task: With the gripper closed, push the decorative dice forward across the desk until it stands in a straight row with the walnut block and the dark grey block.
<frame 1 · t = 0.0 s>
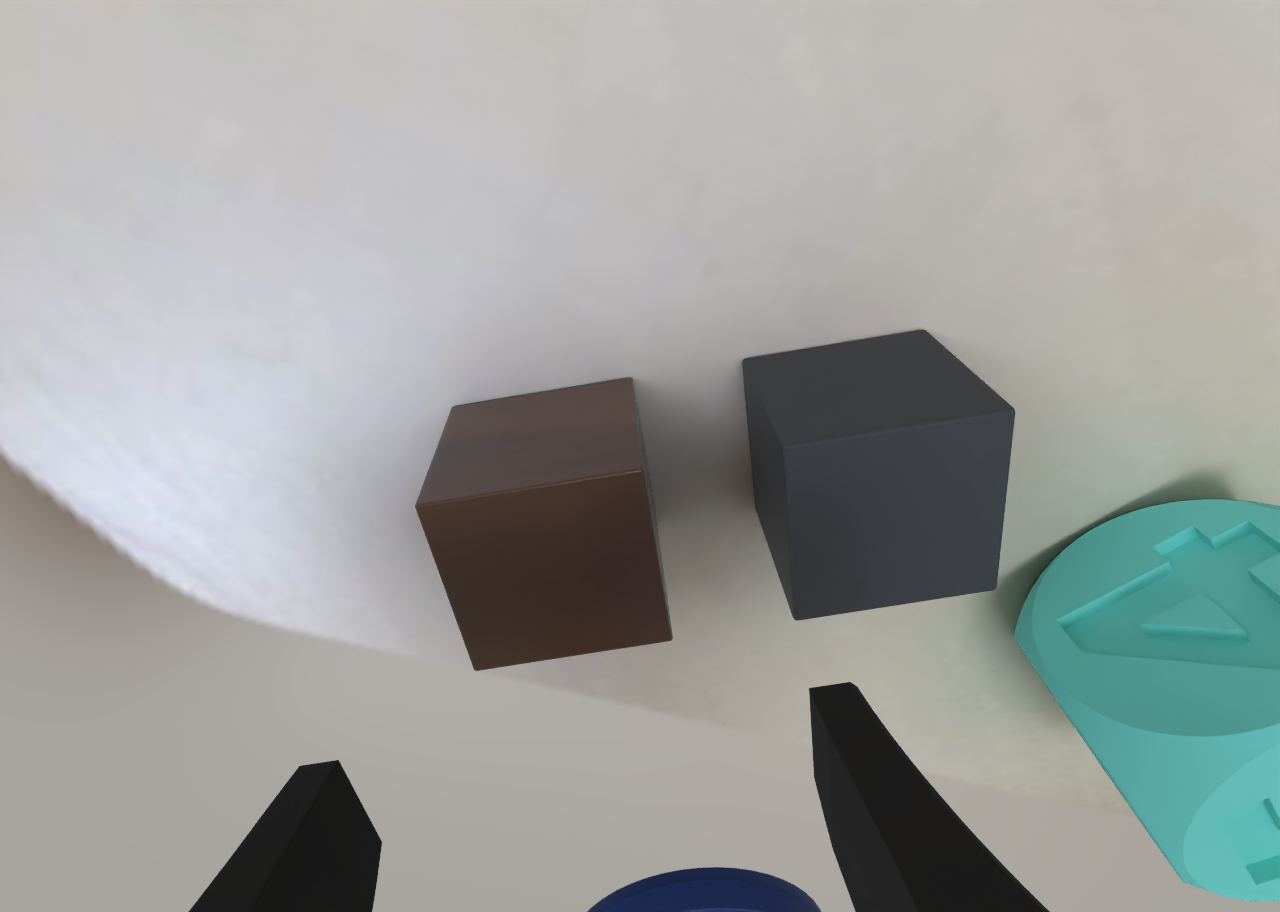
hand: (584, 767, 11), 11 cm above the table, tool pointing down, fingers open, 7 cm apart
walnut block: (560, 469, 22), on the table
grey block: (835, 424, 21), on the table
decorative dice: (1131, 594, 26), on the table
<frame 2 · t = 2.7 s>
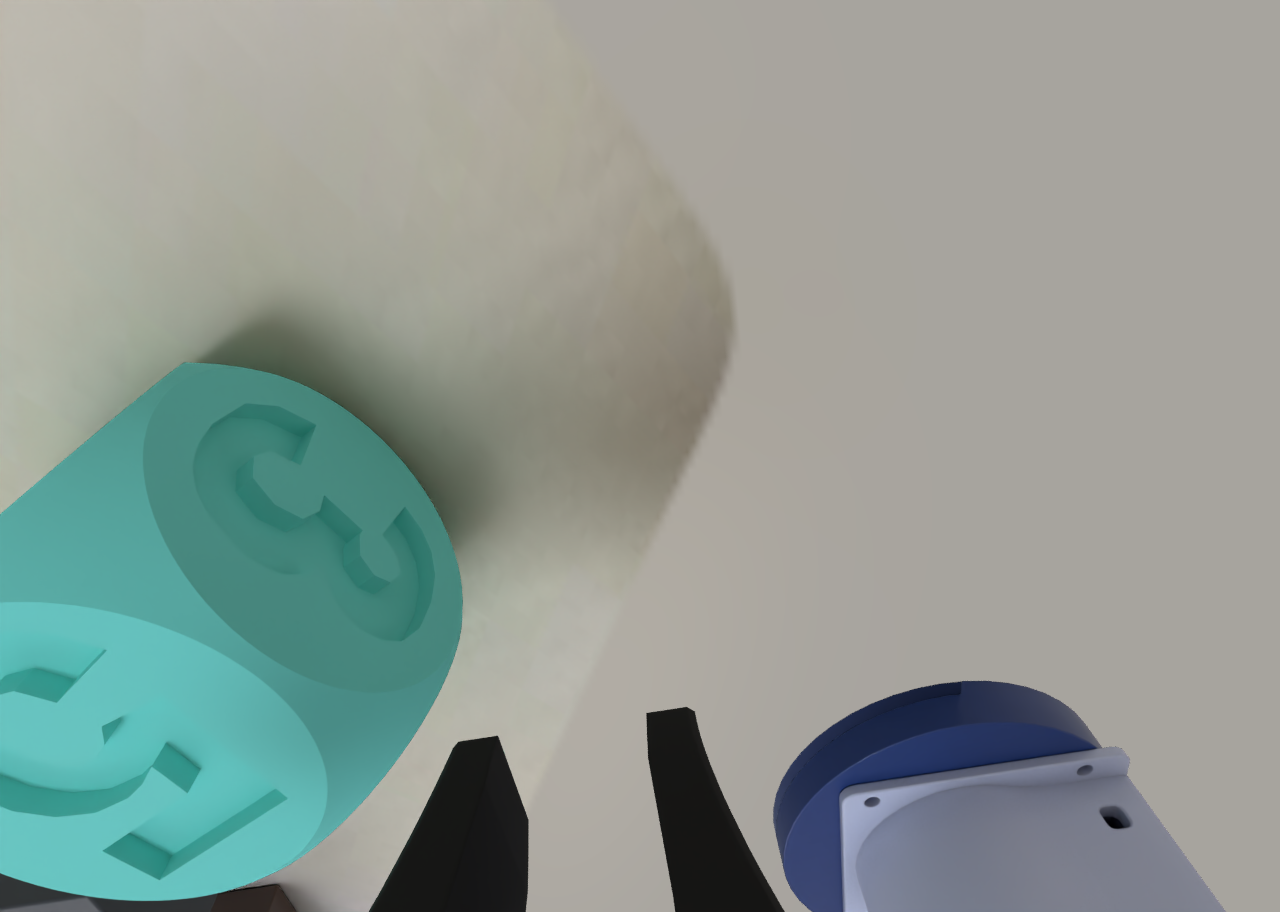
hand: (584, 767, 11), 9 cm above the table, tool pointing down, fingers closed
grey block: (141, 799, 25), on the table
decorative dice: (274, 510, 20), on the table
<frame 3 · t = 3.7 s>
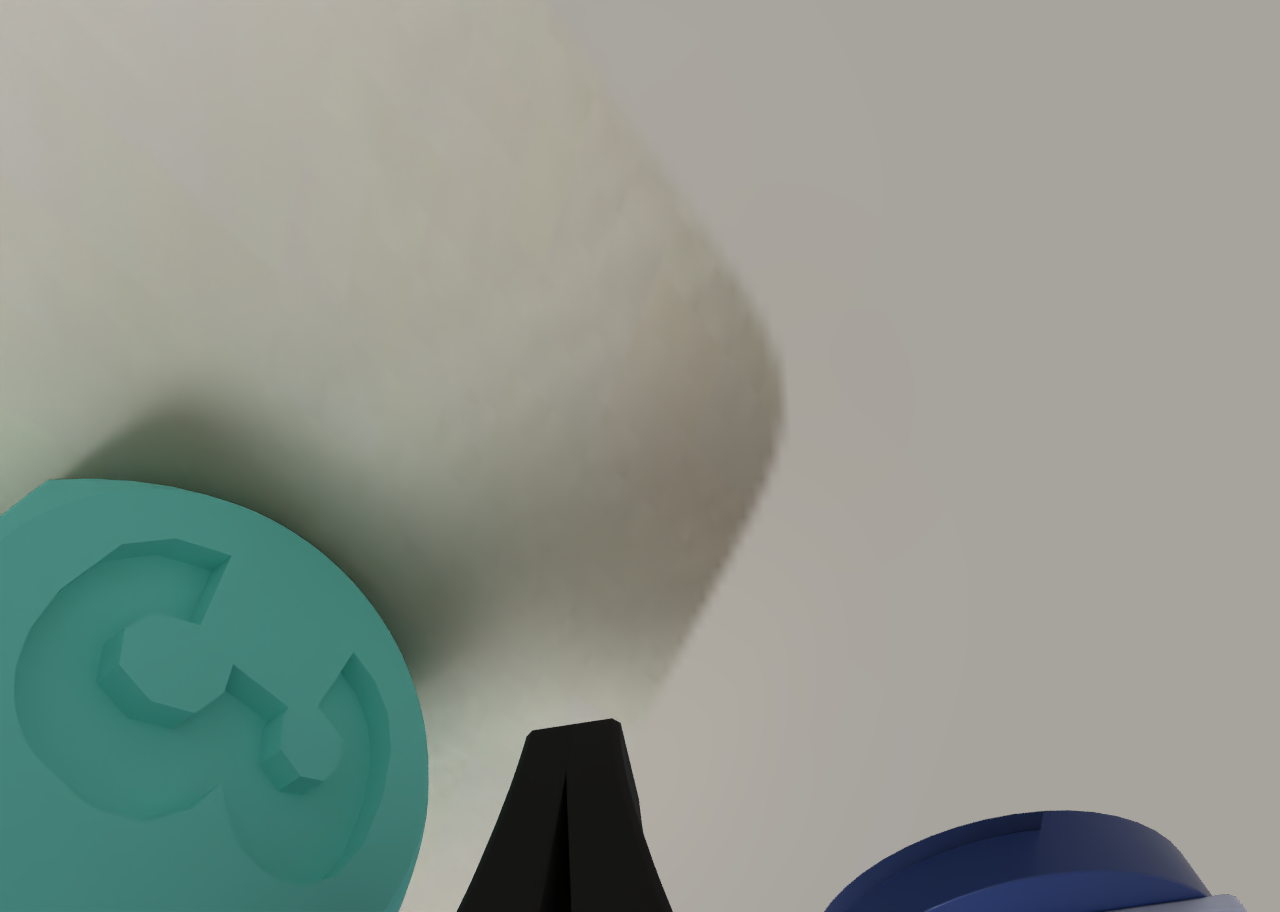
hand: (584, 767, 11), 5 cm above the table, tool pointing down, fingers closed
decorative dice: (196, 636, 16), on the table
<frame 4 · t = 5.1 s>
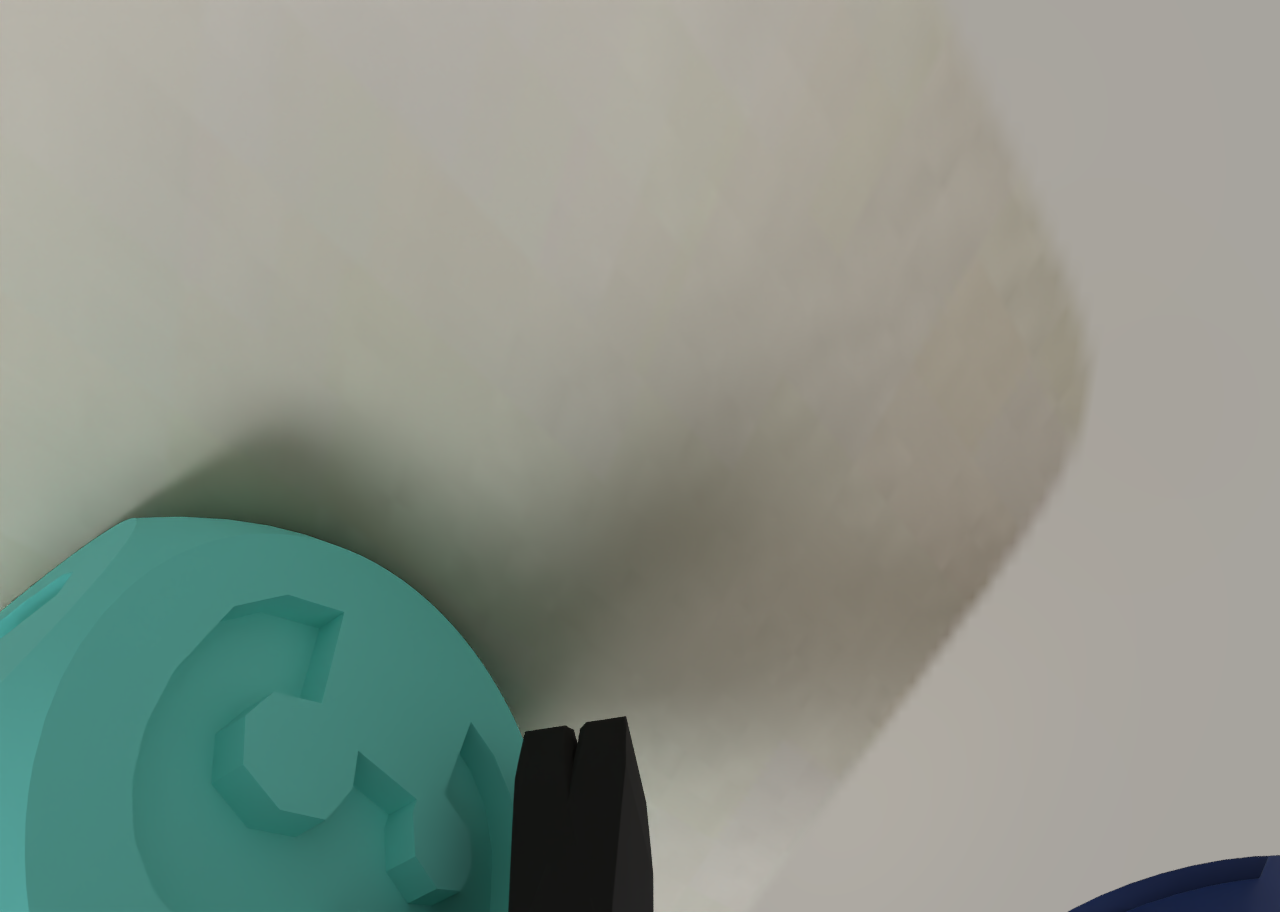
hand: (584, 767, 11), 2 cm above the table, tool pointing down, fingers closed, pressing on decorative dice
decorative dice: (269, 687, 14), on the table, touching gripper
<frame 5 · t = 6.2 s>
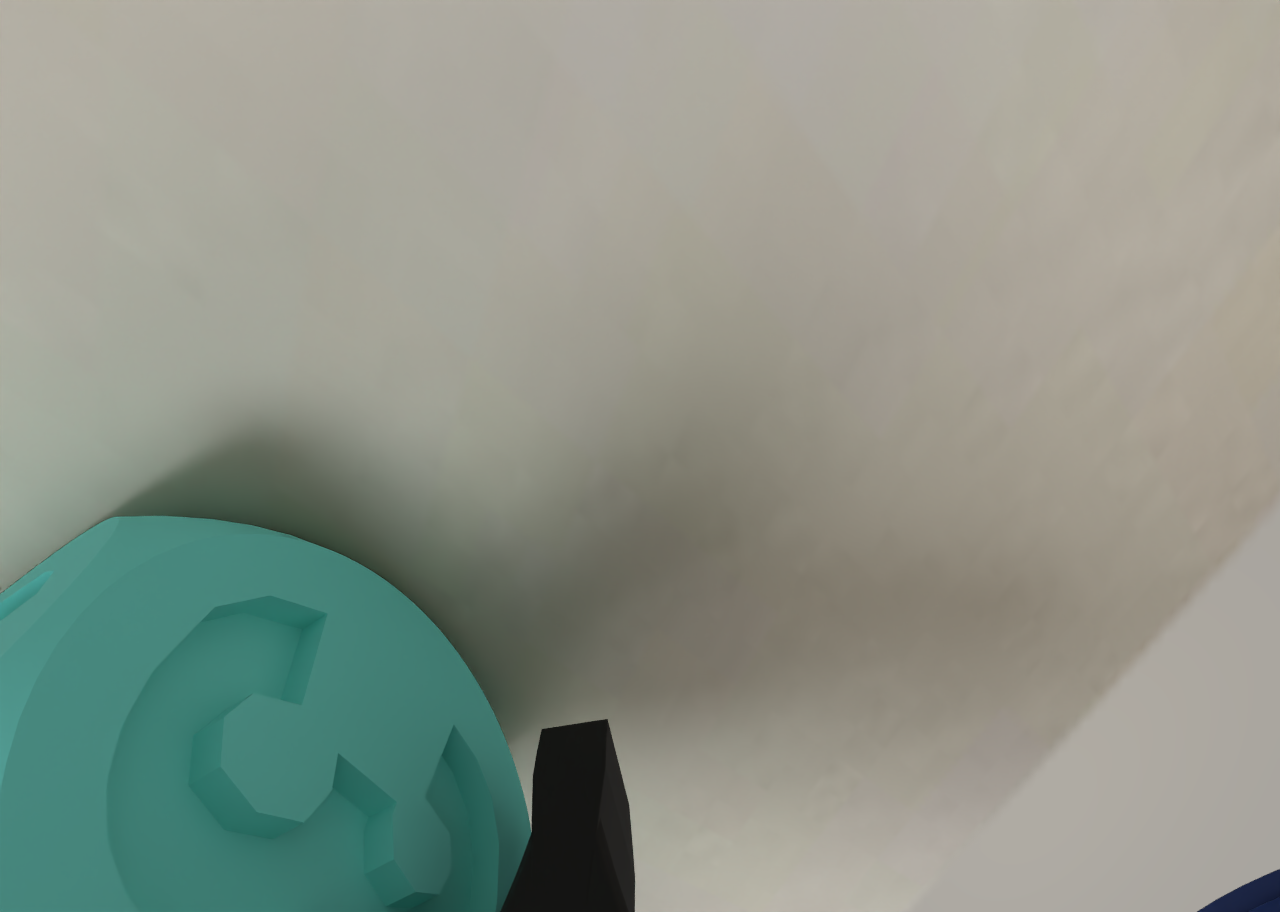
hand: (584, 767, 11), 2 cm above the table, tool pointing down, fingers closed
decorative dice: (253, 687, 14), on the table, touching gripper
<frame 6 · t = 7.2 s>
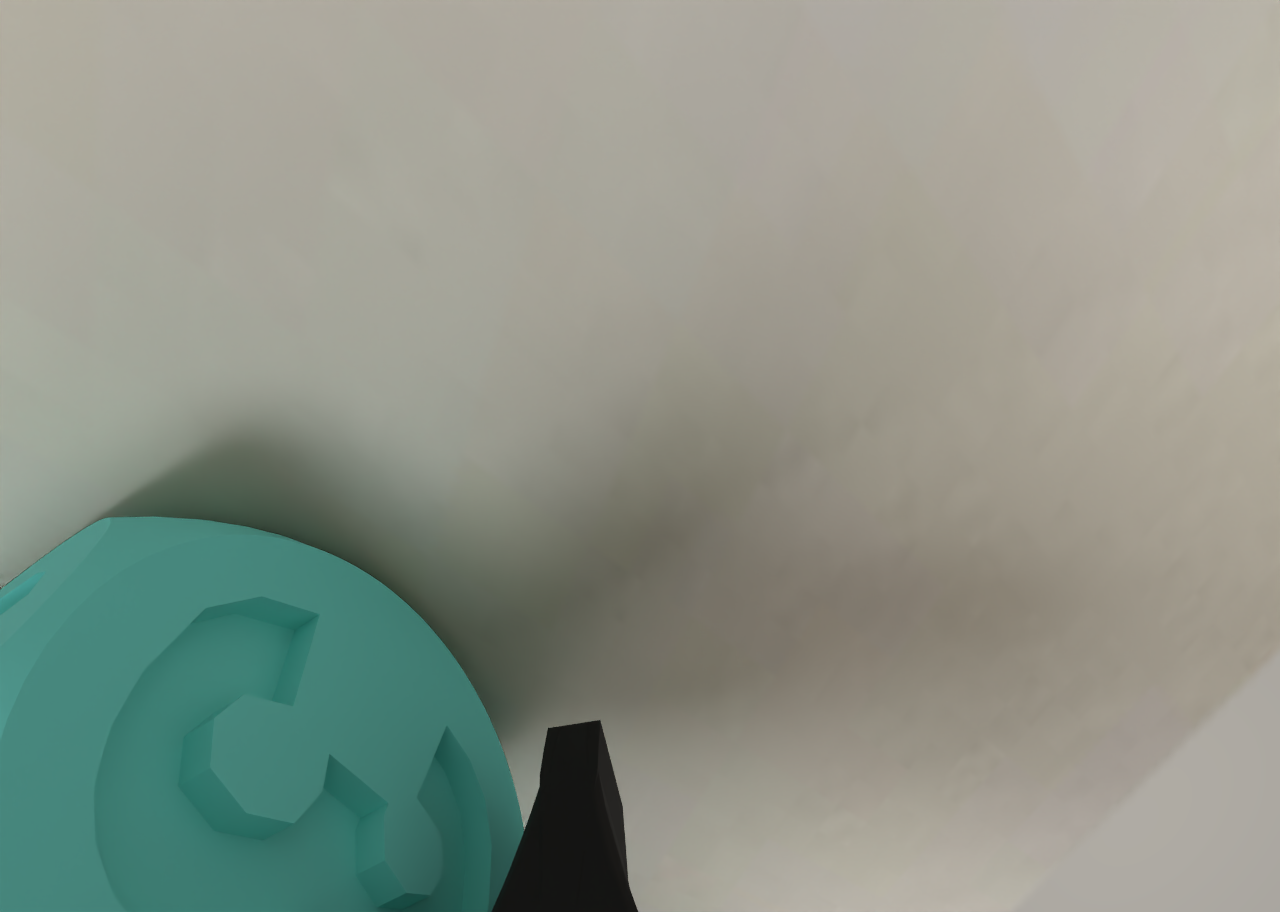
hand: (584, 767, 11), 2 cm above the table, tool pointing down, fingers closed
decorative dice: (247, 687, 14), on the table, touching gripper
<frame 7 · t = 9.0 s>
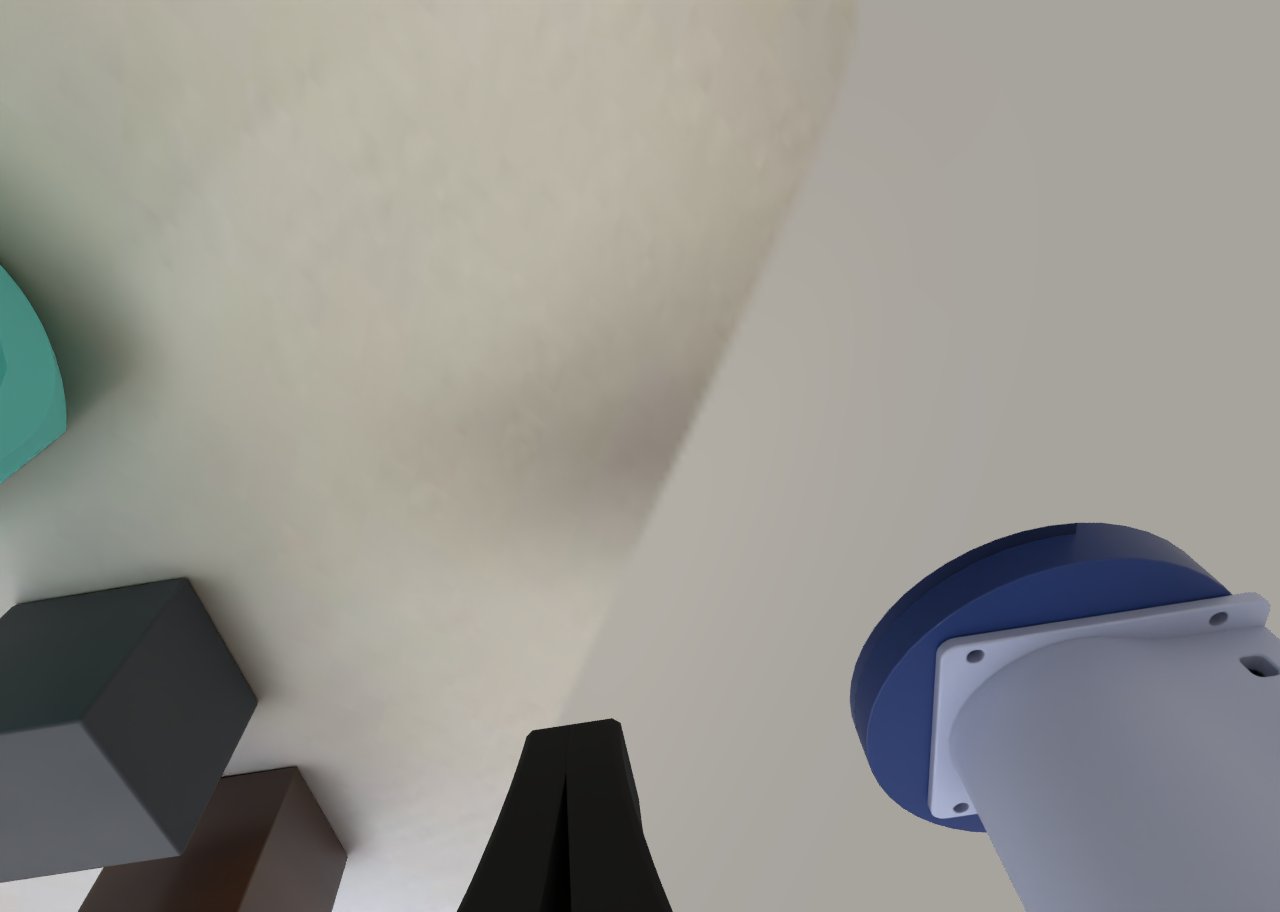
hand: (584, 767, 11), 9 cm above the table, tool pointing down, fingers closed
walnut block: (253, 824, 26), on the table
grey block: (142, 655, 22), on the table
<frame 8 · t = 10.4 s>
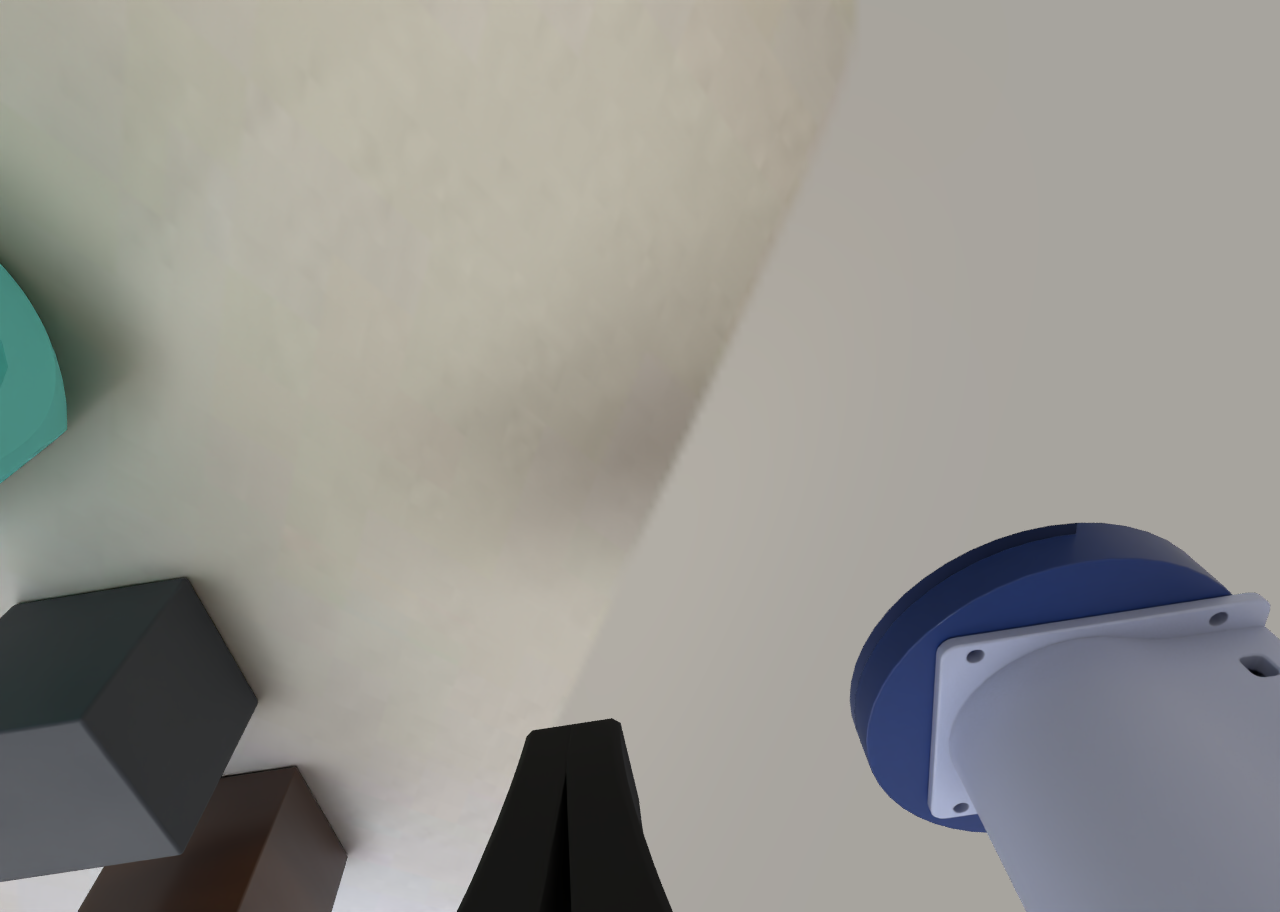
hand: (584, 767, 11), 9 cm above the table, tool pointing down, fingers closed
walnut block: (253, 823, 26), on the table
grey block: (143, 655, 22), on the table
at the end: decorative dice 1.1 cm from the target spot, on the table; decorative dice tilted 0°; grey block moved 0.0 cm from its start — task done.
